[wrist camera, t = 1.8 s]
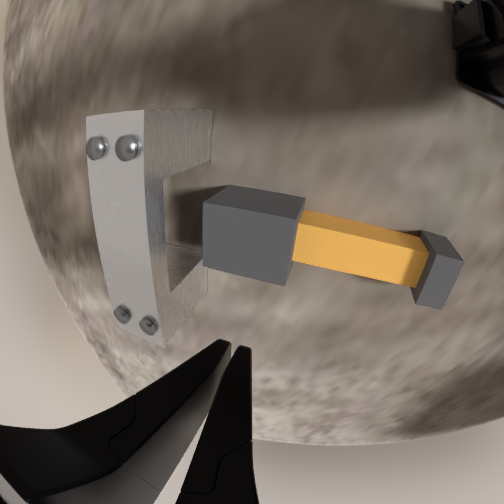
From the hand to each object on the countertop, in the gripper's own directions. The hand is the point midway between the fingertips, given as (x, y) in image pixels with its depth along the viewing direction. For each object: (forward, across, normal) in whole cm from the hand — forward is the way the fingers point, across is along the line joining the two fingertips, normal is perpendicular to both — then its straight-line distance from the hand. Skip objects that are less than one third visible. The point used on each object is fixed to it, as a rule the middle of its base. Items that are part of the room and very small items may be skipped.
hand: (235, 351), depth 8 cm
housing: (+11, +8, 0) cm, 14 cm away
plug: (+11, -3, 0) cm, 11 cm away
